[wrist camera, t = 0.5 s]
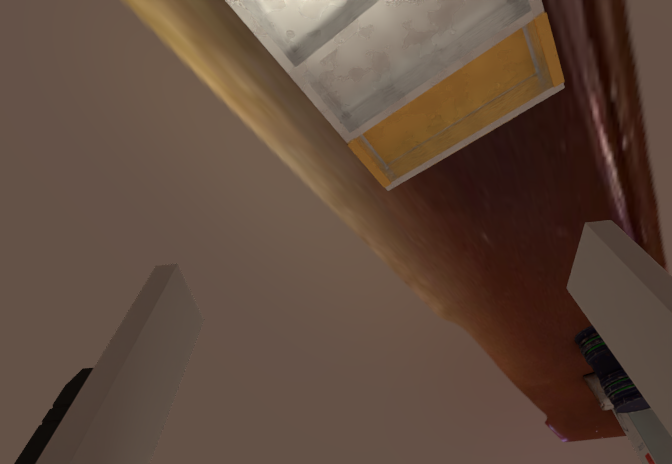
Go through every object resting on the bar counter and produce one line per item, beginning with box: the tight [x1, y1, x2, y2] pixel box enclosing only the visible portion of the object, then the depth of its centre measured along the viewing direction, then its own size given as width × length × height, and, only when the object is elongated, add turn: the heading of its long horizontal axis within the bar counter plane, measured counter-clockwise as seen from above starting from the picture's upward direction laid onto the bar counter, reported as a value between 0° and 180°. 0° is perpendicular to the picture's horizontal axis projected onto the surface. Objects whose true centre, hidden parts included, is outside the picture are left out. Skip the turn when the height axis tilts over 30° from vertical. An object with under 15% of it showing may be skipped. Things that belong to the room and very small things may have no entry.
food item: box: [584, 373, 614, 410], centre depth 98 cm, size 14×8×10 cm, turn 123°
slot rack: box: [225, 0, 565, 191], centre depth 32 cm, size 24×19×4 cm
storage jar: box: [575, 326, 651, 413], centre depth 78 cm, size 10×10×15 cm
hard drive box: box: [612, 408, 672, 464], centre depth 112 cm, size 16×8×20 cm, turn 23°
